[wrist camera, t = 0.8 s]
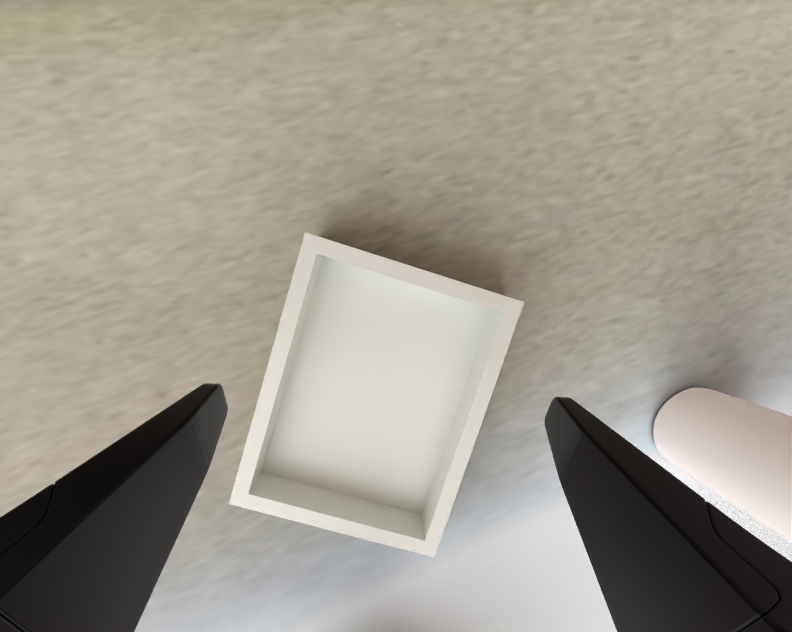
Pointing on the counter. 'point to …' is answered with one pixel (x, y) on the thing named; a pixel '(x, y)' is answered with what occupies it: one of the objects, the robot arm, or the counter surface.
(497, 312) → the tray
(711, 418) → the can
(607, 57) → the counter surface
